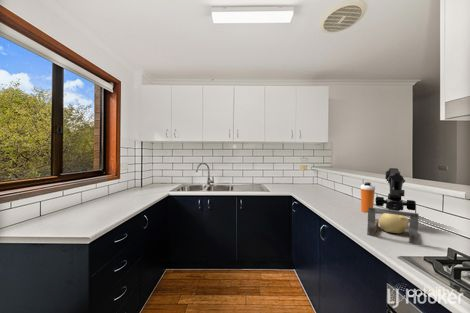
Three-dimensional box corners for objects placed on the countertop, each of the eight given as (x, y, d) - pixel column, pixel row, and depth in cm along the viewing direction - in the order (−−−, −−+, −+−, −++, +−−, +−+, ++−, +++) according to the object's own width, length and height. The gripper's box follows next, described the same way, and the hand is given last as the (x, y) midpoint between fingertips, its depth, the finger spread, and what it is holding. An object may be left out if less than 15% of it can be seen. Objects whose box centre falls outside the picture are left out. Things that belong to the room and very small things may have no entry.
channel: (372, 225, 138) (373, 201, 138) (416, 232, 127) (417, 206, 127) (367, 234, 122) (368, 207, 122) (417, 244, 111) (418, 214, 110)
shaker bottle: (373, 210, 173) (374, 182, 173) (374, 213, 165) (375, 183, 165) (359, 209, 177) (360, 181, 176) (359, 212, 169) (360, 182, 168)
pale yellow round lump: (412, 235, 122) (413, 214, 122) (388, 235, 122) (389, 213, 122) (396, 228, 134) (397, 208, 133) (374, 228, 133) (375, 208, 133)
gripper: (376, 182, 143) (373, 204, 134) (416, 185, 132) (415, 209, 123) (377, 194, 150) (374, 216, 141) (415, 198, 139) (415, 222, 130)
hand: (393, 215), depth 134 cm, fingers closed
